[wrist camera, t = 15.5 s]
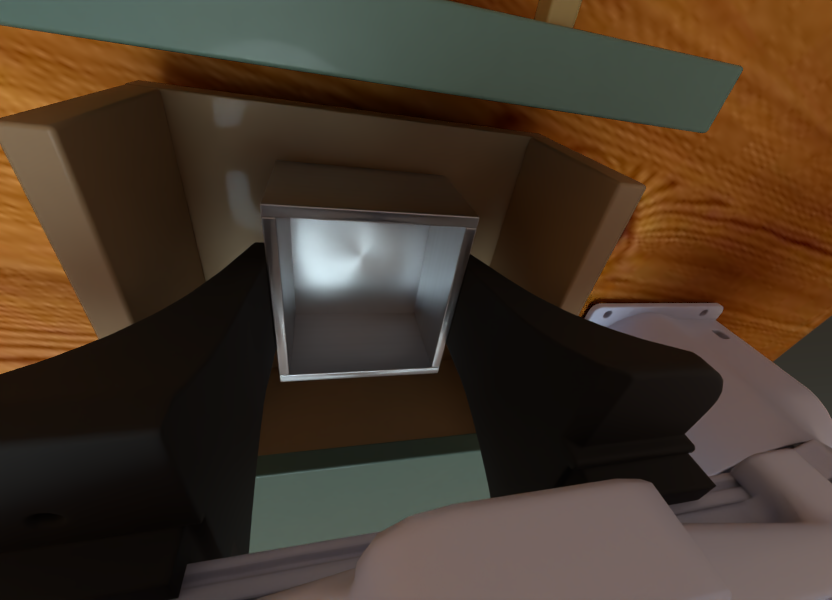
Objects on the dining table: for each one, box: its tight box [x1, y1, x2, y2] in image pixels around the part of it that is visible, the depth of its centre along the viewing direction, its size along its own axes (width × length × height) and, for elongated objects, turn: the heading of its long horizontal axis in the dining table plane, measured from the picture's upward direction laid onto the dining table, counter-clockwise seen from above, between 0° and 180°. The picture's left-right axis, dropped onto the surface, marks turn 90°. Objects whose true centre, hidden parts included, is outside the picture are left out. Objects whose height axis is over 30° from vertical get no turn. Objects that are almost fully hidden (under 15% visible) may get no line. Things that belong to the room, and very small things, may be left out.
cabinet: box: [249, 433, 490, 554], centre depth 18 cm, size 14×14×7 cm
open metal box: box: [260, 160, 479, 382], centre depth 11 cm, size 5×6×3 cm
